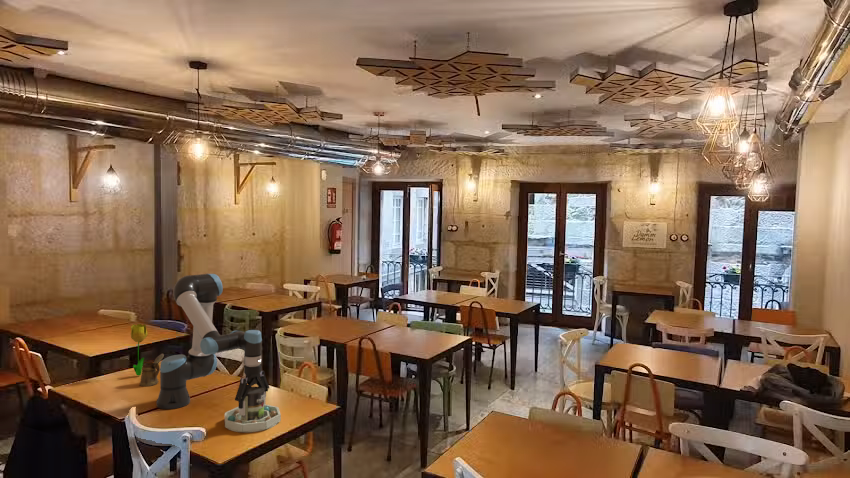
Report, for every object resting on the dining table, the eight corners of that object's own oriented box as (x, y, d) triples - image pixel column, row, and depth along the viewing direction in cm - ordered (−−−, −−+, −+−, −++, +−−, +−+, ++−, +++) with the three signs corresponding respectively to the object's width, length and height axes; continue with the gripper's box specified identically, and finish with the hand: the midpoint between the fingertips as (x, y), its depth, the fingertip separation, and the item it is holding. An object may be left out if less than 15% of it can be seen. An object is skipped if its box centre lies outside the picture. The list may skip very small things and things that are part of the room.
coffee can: (268, 417, 256) (268, 387, 255) (257, 425, 246) (257, 394, 245) (248, 414, 258) (248, 385, 257) (236, 423, 248) (236, 392, 247)
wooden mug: (156, 388, 294) (156, 355, 293) (135, 385, 298) (135, 352, 297) (168, 383, 303) (168, 351, 302) (148, 380, 306) (148, 348, 305)
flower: (127, 378, 310) (126, 325, 308) (137, 373, 318) (136, 322, 316) (140, 379, 308) (140, 326, 306) (150, 375, 316) (150, 323, 314)
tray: (213, 426, 246) (213, 417, 245) (250, 408, 268) (250, 400, 267) (255, 436, 236) (255, 427, 236) (290, 417, 258) (290, 409, 258)
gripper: (239, 372, 237) (239, 420, 239) (277, 358, 260) (276, 402, 261) (226, 370, 240) (226, 417, 242) (264, 356, 263) (264, 400, 264)
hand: (252, 410), depth 251 cm, fingers open, 13 cm apart
